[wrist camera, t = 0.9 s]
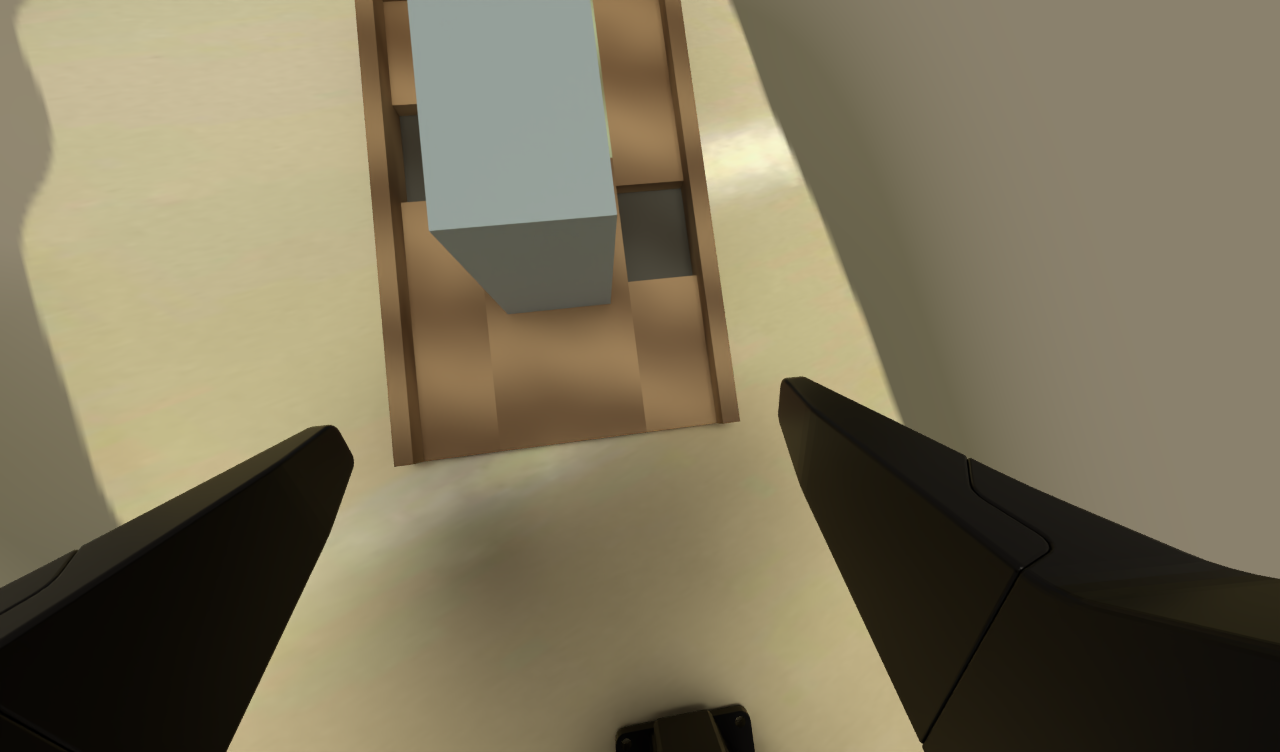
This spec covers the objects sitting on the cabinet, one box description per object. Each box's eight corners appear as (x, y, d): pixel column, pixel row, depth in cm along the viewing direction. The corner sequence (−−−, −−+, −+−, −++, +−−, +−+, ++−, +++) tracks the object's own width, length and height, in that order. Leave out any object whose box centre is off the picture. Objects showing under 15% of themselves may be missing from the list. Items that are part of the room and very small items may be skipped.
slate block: (610, 303, 22) (617, 214, 12) (507, 314, 22) (428, 231, 12) (591, 149, 23) (583, -54, 13) (491, 156, 22) (402, -49, 12)
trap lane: (727, 420, 23) (752, 421, 19) (415, 461, 22) (373, 471, 18) (667, -10, 25) (679, -90, 21) (374, 1, 24) (328, -82, 20)
